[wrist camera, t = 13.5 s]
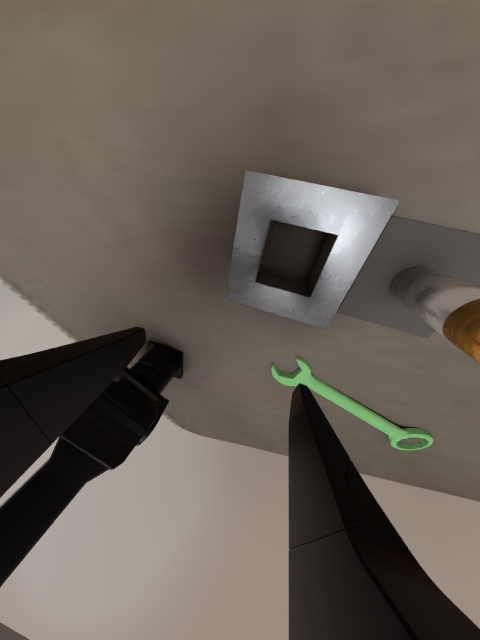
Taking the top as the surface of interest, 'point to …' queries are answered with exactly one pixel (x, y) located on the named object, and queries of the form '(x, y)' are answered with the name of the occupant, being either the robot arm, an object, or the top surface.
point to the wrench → (352, 406)
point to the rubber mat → (404, 252)
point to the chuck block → (310, 212)
